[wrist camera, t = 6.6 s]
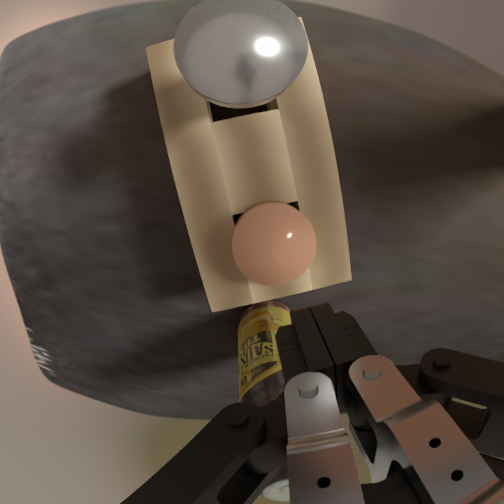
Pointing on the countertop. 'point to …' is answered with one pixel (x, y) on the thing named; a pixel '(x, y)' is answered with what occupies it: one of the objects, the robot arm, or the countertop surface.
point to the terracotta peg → (273, 243)
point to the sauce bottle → (263, 370)
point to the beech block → (251, 177)
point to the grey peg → (240, 50)
